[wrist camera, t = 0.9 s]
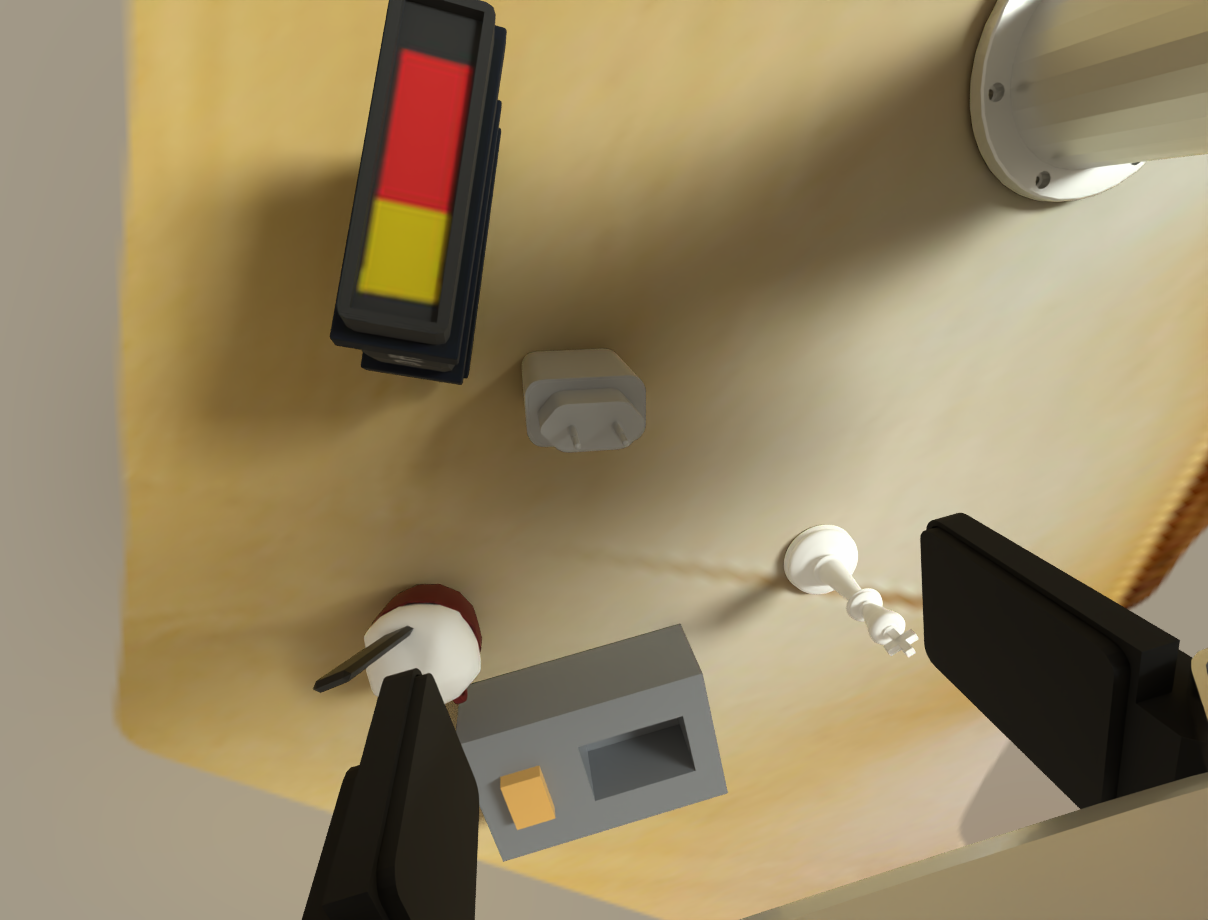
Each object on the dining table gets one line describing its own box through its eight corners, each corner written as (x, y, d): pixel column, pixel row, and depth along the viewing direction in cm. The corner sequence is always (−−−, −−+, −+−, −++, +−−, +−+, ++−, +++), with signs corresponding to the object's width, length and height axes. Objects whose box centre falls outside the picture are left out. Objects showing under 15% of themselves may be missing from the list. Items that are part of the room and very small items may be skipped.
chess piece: (865, 563, 41) (968, 657, 32) (803, 602, 42) (887, 707, 33) (835, 510, 40) (934, 593, 30) (770, 552, 40) (850, 647, 31)
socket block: (680, 623, 41) (706, 682, 36) (704, 735, 45) (732, 803, 39) (460, 687, 40) (453, 757, 35) (503, 795, 44) (503, 873, 38)
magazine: (388, 416, 32) (319, 326, 17) (426, 178, 33) (393, -89, 19) (462, 427, 33) (457, 349, 18) (496, 194, 34) (516, -52, 20)
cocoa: (488, 666, 40) (479, 835, 28) (386, 675, 39) (336, 854, 28) (477, 532, 37) (463, 664, 25) (366, 539, 36) (299, 679, 24)
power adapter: (619, 402, 35) (671, 478, 24) (524, 407, 34) (532, 489, 23) (619, 347, 34) (673, 401, 23) (520, 351, 33) (526, 409, 22)
